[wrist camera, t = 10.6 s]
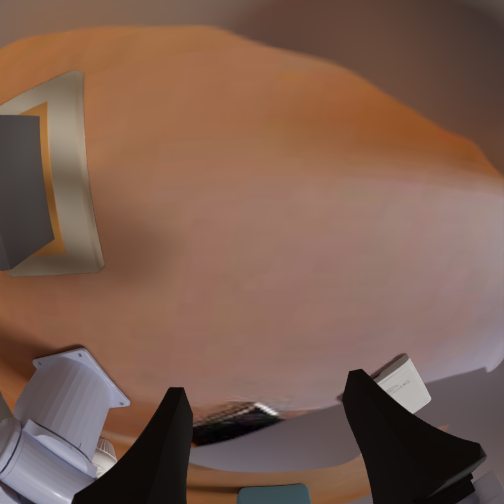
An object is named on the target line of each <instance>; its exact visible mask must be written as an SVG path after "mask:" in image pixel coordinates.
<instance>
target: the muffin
mask: <svg viewBox="0 0 504 504" xmlns="http://www.w3.org/2000/svg"><path fill="white" fill-rule="evenodd" d="M116 463H117V459H116V455H115V452H114V449H113V446H112V444H111V443H110V442H109V441H107V440H106V439H103V438H101V437H99V440H98V443H97V446H96V449H95V453H94V456H93V459H92V463H91V464H92V465H94V466H95V467H97V468H98V469H97V473H96V477H98V478H99V477H101V476H102V475H103V474H104V473H106V472H107V471H108V470H109V469H110V468H111V467H113V466H114V465H115V464H116Z"/></svg>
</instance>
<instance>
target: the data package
mask: <svg viewBox="0 0 504 504" xmlns="http://www.w3.org/2000/svg"><path fill="white" fill-rule="evenodd" d="M237 504H312V503H311V499H310V494H309V490H308V488H307V487H306V486H305V485H303V484H293V485H281V486H263V487H244V488H242V489H241V490H240V491H239V493H238V496H237Z"/></svg>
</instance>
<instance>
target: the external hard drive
mask: <svg viewBox="0 0 504 504" xmlns="http://www.w3.org/2000/svg"><path fill="white" fill-rule="evenodd" d="M373 380H374V381H375V382H376V383H377V384H378V385H379V386H380V387H381V388H382V389H383V390H384V391H385V392H387V393H388V394H389V395H390V396H391V397H392V398H393V399H395V400H396V401H397V402H398V403H399V404H400V405H402V406H403V407H404V408H406V409H407V410H408V411H409V412H411V413H412V414H413V413H415V412H416V411H417V410H419V409H420V408H422V407H423V406H424V405H426V404H427V403H428V402H429V401H430V400H431V397H430V395H429V393H428V391H427V389H426V387H425V385H424V383H423V381H422V379H421V378H420V376H419V374H418V372H417V370H416V368H415V367H414V365H413V363H412V361H411V359H410V358H409V356H408V355H407V353H406V354H405V355H404V356H402V357H401V358H400V359H398V360H397V361H396V362H394V363H393V364H392V365H390V366H389V367H388V368H386V369H385V370H384V371H382V372H381V373H380V374H379V375H378V376H377V377H375V378H374V379H373Z"/></svg>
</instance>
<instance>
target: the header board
mask: <svg viewBox="0 0 504 504" xmlns="http://www.w3.org/2000/svg"><path fill="white" fill-rule="evenodd" d="M0 115H28V116H40V142H41V156H42V167H43V176H44V183H45V191H46V197H47V203H48V209H49V214H50V219H51V224H52V229H53V234H54V238H55V240H53V241H52V242H50V243H48V244H47V245H45V246H44V247H42V248H41V249H40V250H38V251H37V252H35V253H34V254H32V255H31V256H29V257H28V258H27V259H25V260H24V261H22V262H21V263H20V264H18V265H17V266H15V267H14V268H13V269H11V270H8V272H9V275H10V277H21V276H42V275H62V274H80V273H98V272H99V271H100V270H101V269H102V268H103V267H104V266H105V264H104V260H103V255H102V251H101V247H100V242H99V237H98V233H97V228H96V222H95V217H94V211H93V205H92V199H91V192H90V185H89V177H88V169H87V159H86V147H85V132H84V73H83V72H81V71H78V70H76V69H75V70H73V71H70V72H68V73H65V74H63V75H60V76H58V77H56V78H53V79H51V80H49V81H47V82H44V83H42V84H40V85H38V86H36V87H34V88H32V89H30V90H28V91H26V92H24V93H22V94H20V95H18V96H17V97H15V98H13V99H11V100H9V101H8V102H6V103H4V104H3V105H1V106H0Z"/></svg>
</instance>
